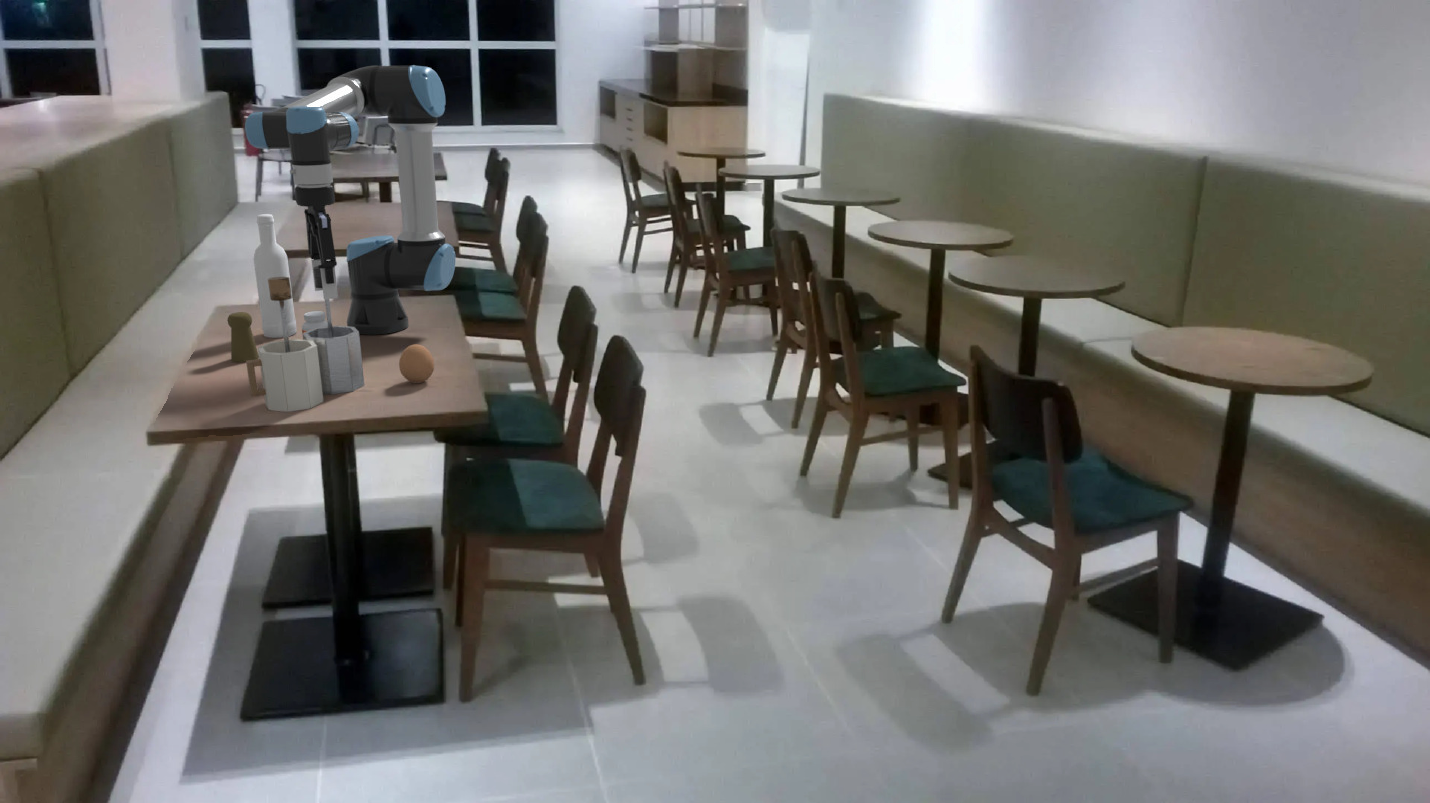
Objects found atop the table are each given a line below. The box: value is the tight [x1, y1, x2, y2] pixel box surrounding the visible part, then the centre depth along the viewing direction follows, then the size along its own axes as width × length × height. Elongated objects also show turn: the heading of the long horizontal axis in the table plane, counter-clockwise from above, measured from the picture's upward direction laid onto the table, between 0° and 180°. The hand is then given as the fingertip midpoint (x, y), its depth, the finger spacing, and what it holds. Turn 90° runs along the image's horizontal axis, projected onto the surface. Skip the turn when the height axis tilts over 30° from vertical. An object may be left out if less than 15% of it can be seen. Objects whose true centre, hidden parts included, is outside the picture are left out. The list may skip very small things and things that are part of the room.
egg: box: [398, 343, 435, 384], centre depth 238 cm, size 7×7×8 cm
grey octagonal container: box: [302, 325, 365, 395], centre depth 235 cm, size 13×11×12 cm
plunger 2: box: [312, 266, 333, 338], centre depth 232 cm, size 7×7×18 cm
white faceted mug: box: [245, 338, 324, 413], centre depth 224 cm, size 13×11×12 cm
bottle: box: [253, 213, 297, 339], centre depth 273 cm, size 8×8×30 cm
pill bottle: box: [301, 310, 328, 334], centre depth 255 cm, size 6×6×11 cm
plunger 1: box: [268, 277, 293, 353], centre depth 221 cm, size 7×7×18 cm
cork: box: [226, 311, 259, 363], centre depth 255 cm, size 6×6×11 cm
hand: (326, 294), depth 231 cm, fingers open, 8 cm apart
